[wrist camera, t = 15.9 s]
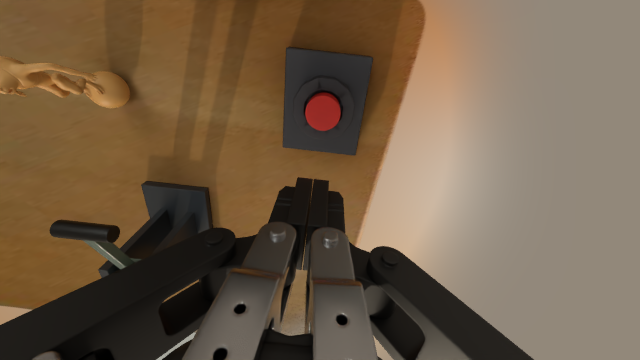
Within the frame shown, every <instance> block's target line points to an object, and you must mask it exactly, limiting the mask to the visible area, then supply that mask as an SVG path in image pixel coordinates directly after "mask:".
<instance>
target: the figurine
mask: <svg viewBox="0 0 640 360" xmlns="http://www.w3.org/2000/svg"><path fill="white" fill-rule="evenodd" d="M49 69H51V70H56V71H61V72H65V73H68V74H72V75H78V76H83V77H85V79H78V80H77V83H76V82H73V81H71V80H69V79H68V78H67V77H65V76H62V75H61V74H59V73H53V74H48V73H45V72H43V71H45V70H49ZM35 86H37V87H40V88H43V89H46V90H47V91H49V92H51V93H54V94H56V95H57V96H59V97H61V98H65V97H67V96H68V95H69V93H70V92H72V93H74V94H82V93H83V92H85V94H86V95H87V96H89V98H90V99H91V100H92V101H94V102H95V103H96V104H98V105H100V106H103V107H106V108H117V107H121V106H123V105H124V104H125V103H126V102H127V101H128V100H129V97H130V90H129V87H128V85H127V83H126V82H125V81H124V80H123V79H122V78H121V77H120V76H118V75H116V74H114V73H111V72H107V71H99V72H95V73H93V74H91V73H85V72H80V71H77V70H74V69H71V68H67V67H63V66H60V65H57V64H53V63H34V64H25V63H22V62H20V61H18V60H15V59H13V58H10V57H6V56H0V93H3V94H6V93H9V94H11V95H12V94H14V93H15V94H17V95H20V96H23V97H24V96H25V94H22V93H23V92H20V91H16V89H17V88H18V89H27V88H32V87H35ZM25 97H27V96H25Z"/></svg>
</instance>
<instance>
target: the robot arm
mask: <svg viewBox="0 0 640 360" xmlns="http://www.w3.org/2000/svg"><path fill="white" fill-rule="evenodd" d="M312 181H313V179H308V178H299V177H298V178H297V182H296V186H295V187H289V186H285V187H284V188H283V189H282V190H280V191H279V194H278V197H277V199H276V202H275V205H274V208H273V211H272V213H271V216H270V219H269V222H268V224H265V225H264V226H262V227H261V229H260V230H259V232H258V234H256V235H253V236H249V237H242V238H235V235H234V233H233V232H232V231H231V230H229V229H226V228H211V229H207V230H205V231H202V232H200V233H198V234H196V235H194V236H192V237H189V238H187V239H185V240H183V241H181V242H179V243H177V244H174V245H172V246H170V247H168V248H166V249H164V250H161V251H159V252H157V253H155V254H153V255H151V256H148V257H146V258H144V259H142V260H140V261H138V262H135V263H133V264H131V265H129V266H127V267H125V268H123V269H120V270H118V271H116V272H114V273H112V274H110V275H107V276H105V277H103V278H101V279H99V280H97V281H94V282H92V283H90V284H88V285H86V286H84V287H81V288H79V289H77V290H75V291H73V292H71V293H69V294H66V295H64V296H62V297H60V298H58V299H56V300H53V301H51V302H49V303H47V304H45V305H43V306H40V307H38V308H36V309H34V310H32V311H30V312H28V313H25V314H23V315H21V316H19V317H17V318H15V319H12V320H10V321H8V322H6V323H4V324H2V325H0V360H156V359H157V358H159V357H160V356H162V355H163V354H164V353H166V352H167V351H168V350H170V349H171V348H173V347H174V346H175V345H177V344H178V343H180V342H181V341H182V340H184V339H185V338H186V337H188V336H189V335H191V334H192V333H193V332H195V331H196V330H197V329H198V331H197V332H196V334H195V336H194V338H193V339H192V340H190V341H188V342H186V343H185V344H183V345H181V346H180V347H178V348H177V349H175V350H174V351H172V352H171V353H170V354H169V355H167V356H166V357H165V358H163V359H162V360H382V359H381V358H379V357H378V356H377V352H376V347H375V342H374V338H373V335H374V336H375V338H376V339H377V340H378V341H379V343H380V344H381V345H382V346H383V347H384V349H385V350H386V351H387V352H388V353H389V354H390V356H391V357H392V358H393V359H394V360H534V359H532V358H531V357H530V356H529V355H528V354H526V353H525V352H524V351H523V350H521V349H520V348H519V347H518V346H516V345H515V344H514V343H513V342H511V341H510V340H509V339H508V338H506V337H505V336H504V335H503V334H502V333H500V332H499V331H498V330H497V329H495V328H494V327H493V326H492V325H490V324H489V323H488V322H487V321H485V320H484V319H483V318H482V317H480V316H479V315H478V314H477V313H475V312H474V311H473V310H472V309H470V308H469V307H468V306H467V305H466V304H464V303H463V302H462V301H461V300H459V299H458V298H457V297H456V296H454V295H453V294H452V293H451V292H450V291H448V290H447V289H446V288H445V287H443V286H442V285H441V284H440V283H438V282H437V281H436V280H435V279H433V278H432V277H431V276H430V275H428V274H427V273H426V272H425V271H423V270H422V269H421V268H420V267H419V266H417V265H416V264H415V263H414V262H412V261H411V260H410V259H408V258H407V257H406V256H405V255H404V254H402V253H401V252H400V251H398V250H396V249H394V248H391V247H385V246H381V247H376V248H374V249H373V250H372V251H371V252H370V253H369V252H367V251H364V250H361V249H359V248H357V247H355V246H354V245H352V244H351V243H350V242H349V240H348V237H347V236H346V234H345V221H344V207H343V206H344V204H343V198H342V196H341V195H340V193H339V192H334V191H328V187H329V181H326V180H317V179H314V182H313V189H312ZM311 191H312V197H311ZM310 201H311V204H310ZM306 233H307V235H306ZM305 240H306V245H305ZM304 247H305V255H304V265H303V270H308V271H307V281H306V293H305V333H304V334H301V335H295V336H287V335H284V334H282V333H281V329H282V325H283V321H284V317H285V313H286V309H287V306H288V302H289V298H290V294H291V290H292V286H293V281H294V278H295V273H296V269H298V270H301V269H302V261H303V254H304ZM198 279H199V282H197V283H195V284H194V285H192V286H190V287H189V288H187V289H185V290H184V291H182V292H180V293H179V294H177V295H175V296H174V297H172V298H170V299H169V300H167V301H165V302H163V301H164V300H165V299H167V298H168V297H170V296H171V295H173V294H175V293H176V292H178V291H180V290H181V289H183V288H185V287H186V286H188V285H190V284H192V283H193V282H195V281H197V280H198ZM162 302H163V303H162Z"/></svg>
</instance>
